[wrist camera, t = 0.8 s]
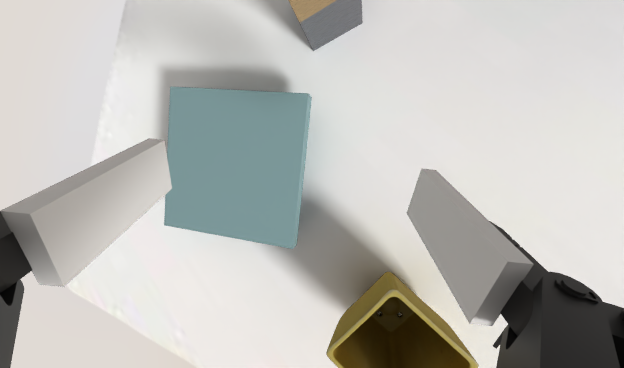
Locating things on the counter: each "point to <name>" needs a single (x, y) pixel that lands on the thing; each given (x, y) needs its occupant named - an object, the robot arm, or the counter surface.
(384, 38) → the counter surface
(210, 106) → the teal stand
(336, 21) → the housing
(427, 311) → the flower pot
